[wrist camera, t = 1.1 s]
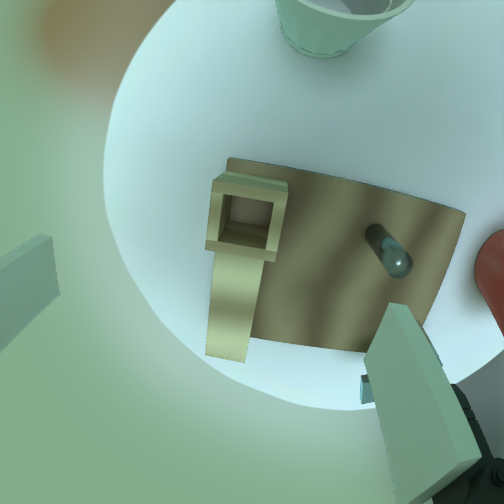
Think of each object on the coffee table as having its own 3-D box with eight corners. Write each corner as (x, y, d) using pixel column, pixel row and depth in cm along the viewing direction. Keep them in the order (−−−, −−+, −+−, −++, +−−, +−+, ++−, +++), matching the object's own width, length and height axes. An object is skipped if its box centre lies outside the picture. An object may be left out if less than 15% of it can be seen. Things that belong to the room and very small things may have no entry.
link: (257, 330, 30) (253, 364, 25) (208, 321, 30) (197, 353, 26) (287, 180, 24) (288, 192, 20) (226, 170, 24) (212, 180, 20)
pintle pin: (388, 225, 25) (416, 255, 19) (382, 246, 25) (407, 280, 19) (368, 221, 25) (392, 250, 19) (362, 242, 25) (383, 276, 20)
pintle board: (461, 211, 24) (466, 214, 23) (404, 350, 31) (406, 355, 30) (229, 157, 25) (227, 158, 24) (209, 323, 31) (208, 328, 31)
